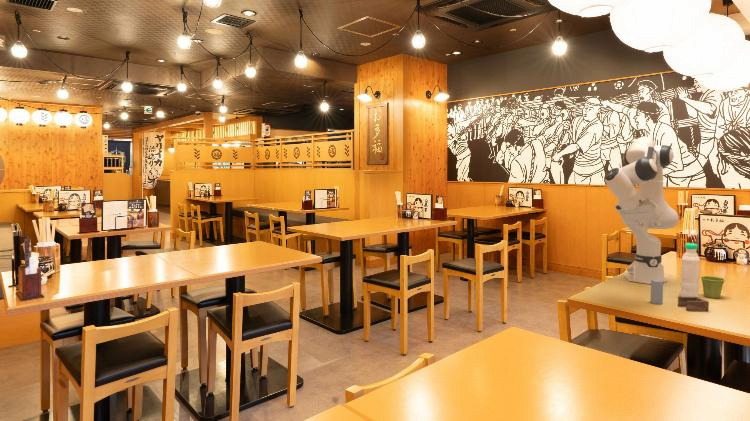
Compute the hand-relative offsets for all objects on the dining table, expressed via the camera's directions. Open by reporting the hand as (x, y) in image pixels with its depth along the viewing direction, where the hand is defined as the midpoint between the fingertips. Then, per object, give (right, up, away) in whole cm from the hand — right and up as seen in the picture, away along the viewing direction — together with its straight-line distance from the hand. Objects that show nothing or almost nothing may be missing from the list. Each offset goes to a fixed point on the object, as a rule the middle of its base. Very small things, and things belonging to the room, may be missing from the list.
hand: (650, 225), depth 210 cm
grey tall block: (+3, -34, +1) cm, 35 cm away
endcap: (+14, -35, -8) cm, 38 cm away
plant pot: (+35, -33, +10) cm, 49 cm away
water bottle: (+23, -34, +10) cm, 42 cm away
